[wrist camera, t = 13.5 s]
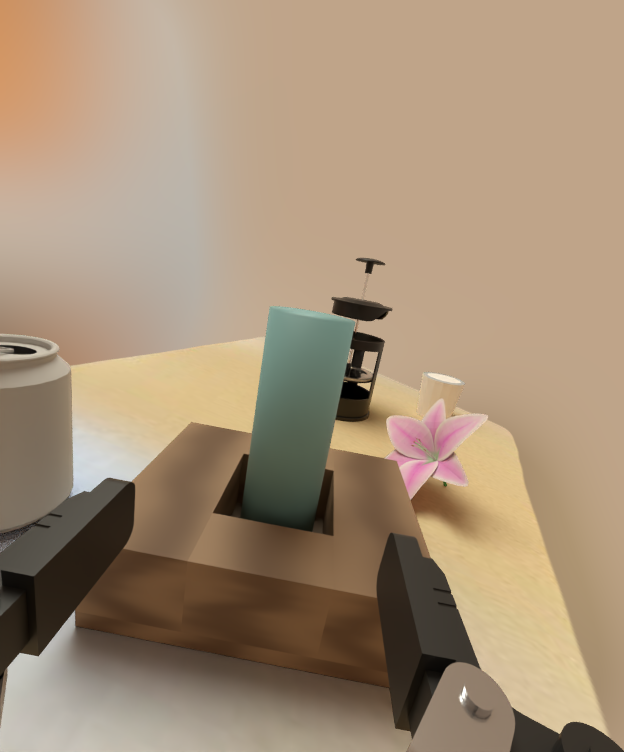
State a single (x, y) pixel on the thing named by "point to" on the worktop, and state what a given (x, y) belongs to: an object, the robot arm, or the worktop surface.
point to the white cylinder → (439, 392)
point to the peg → (295, 415)
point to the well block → (255, 562)
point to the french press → (359, 352)
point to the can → (33, 430)
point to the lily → (430, 446)
